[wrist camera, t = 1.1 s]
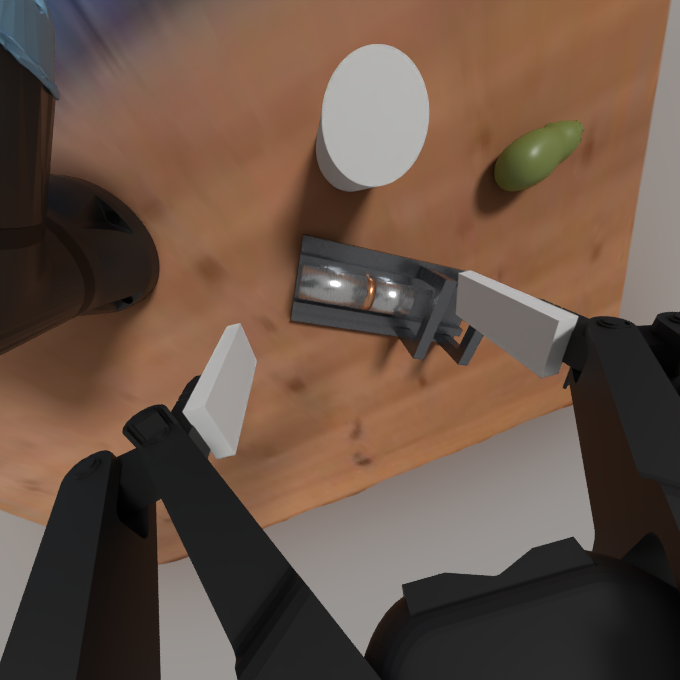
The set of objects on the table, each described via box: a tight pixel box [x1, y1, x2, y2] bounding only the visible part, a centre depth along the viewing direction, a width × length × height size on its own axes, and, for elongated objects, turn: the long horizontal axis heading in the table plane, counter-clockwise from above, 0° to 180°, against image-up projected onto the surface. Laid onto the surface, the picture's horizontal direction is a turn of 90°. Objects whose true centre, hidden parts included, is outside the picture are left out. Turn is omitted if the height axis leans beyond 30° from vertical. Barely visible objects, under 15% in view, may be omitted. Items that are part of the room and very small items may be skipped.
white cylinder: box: [316, 44, 429, 192], centre depth 24 cm, size 8×8×12 cm
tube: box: [298, 264, 414, 317], centre depth 34 cm, size 15×4×4 cm, turn 77°
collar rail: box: [291, 234, 484, 366], centre depth 35 cm, size 27×12×8 cm, turn 77°
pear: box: [494, 120, 584, 191], centre depth 30 cm, size 6×5×10 cm
